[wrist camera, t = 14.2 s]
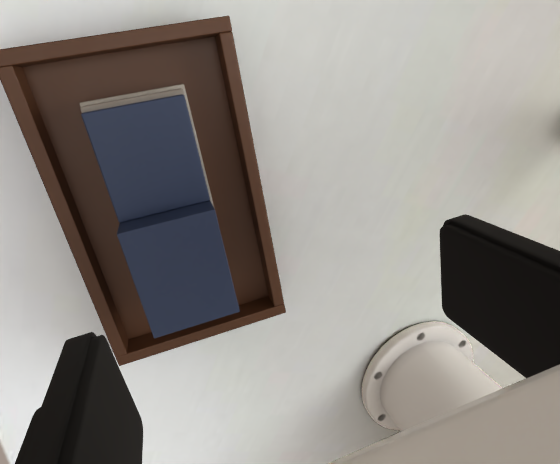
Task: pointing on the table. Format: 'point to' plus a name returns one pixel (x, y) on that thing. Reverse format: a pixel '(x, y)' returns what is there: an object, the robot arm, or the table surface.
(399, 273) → the table surface
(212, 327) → the tray
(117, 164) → the blue stair step block
